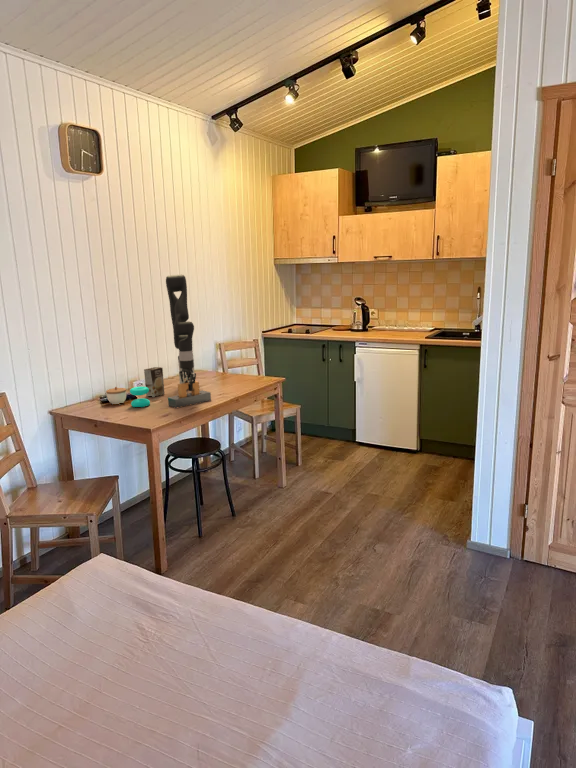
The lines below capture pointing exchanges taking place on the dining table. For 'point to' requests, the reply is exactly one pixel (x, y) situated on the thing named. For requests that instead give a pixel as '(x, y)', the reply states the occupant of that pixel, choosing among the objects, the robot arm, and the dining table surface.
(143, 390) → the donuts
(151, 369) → the coffee box
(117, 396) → the lidded jar
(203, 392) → the grey slotted block
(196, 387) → the long orange brick
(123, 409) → the dining table surface
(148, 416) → the dining table surface
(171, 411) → the dining table surface
